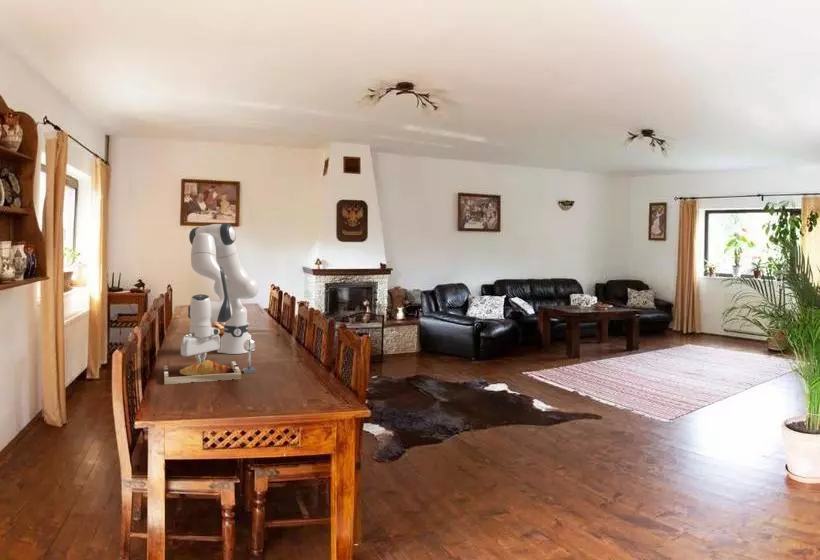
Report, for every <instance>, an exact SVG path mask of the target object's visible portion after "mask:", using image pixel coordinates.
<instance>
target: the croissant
mask: <svg viewBox="0 0 820 560" xmlns="http://www.w3.org/2000/svg"><path fill="white" fill-rule="evenodd" d="M231 370H232V366H227V365H224V364H221V363H218V362H214V361H213V360H211V359H205V361H203V362H202V363H197V362H196V363H193V364H192V365H189V366H185V367H183V368H182V369H179V373H180V374H181V375H183V376H196V375H211V374H225V373H228V372H230V371H231Z"/></svg>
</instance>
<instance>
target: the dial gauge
mask: <svg viewBox="0 0 820 560" xmlns="http://www.w3.org/2000/svg"><path fill="white" fill-rule="evenodd" d="M243 346H244V349H245V350H247V351H248V352H247V367H242V373H243V374H244V373H245V374H256V373H257V368H255V367H254V366H251V365H252V364H251V362H252V360H251V359H252V358H251V357H252V356H251V355H252V352H253V351H252V350H253V349H255V348H256V342H255V341H254V340H253V339H251V340H246V341H245V342H244V345H243Z"/></svg>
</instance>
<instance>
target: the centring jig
mask: <svg viewBox="0 0 820 560" xmlns="http://www.w3.org/2000/svg"><path fill="white" fill-rule="evenodd" d="M168 367H169V366H168V365H164V366H163V379H164V380H163V381H164V382H163V383H164V384H163V385H176V384H177V385H178V384H179V383H180V384H192V383H191V382H194V383H204V382H206V381H207V382H218V380H221V381H233V380H232V379H234V380H242V372H241V369H240V368H239V365H238V364H237V363H236V361H231V370H232V369H233V370H232V371H234V372H229V373H228V372H227V373H225V374H211V375H196V376H186V375H183V376H171V377H170V376H169V368H168Z"/></svg>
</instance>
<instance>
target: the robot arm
mask: <svg viewBox="0 0 820 560" xmlns="http://www.w3.org/2000/svg"><path fill="white" fill-rule="evenodd" d="M236 235H237V234H236V230H235V228H234V226H233V225H232V224H231V223H213V224H209V225H202V226H197V227H194V228H192V229H191V230H190V232H189V237H188V239H189V243H190V245H191V248H190V249H191V251H190V263H191V264H190V265H191V267H192V269H193V271H194V272H195V273H196V274H199V275H200V276H203V277H205V278H208V279H210V280H213V281H214V284H213V290H214V293H215V294H216V295H217V296H218V297H219V299H218V300H211V298H210V296H209V295H207V294H196V295H192V297H191V301H190V304H189V305H188V306H187V307H188V308H187V309H188V310H187V312H188V313H187V314H188V315H187V317H188V318H189V320H190V323H189V333H188V334H187V333H186V334H184V336H182V339H181V344H180V345H181V346H180V355H181V356H182V357H190V356H194V358H195V359H196V363H202V362H203V361H206V357H207V354H208V353H209V352H212V351H216V352H217V353H220V354H227V355H228V354H229V355H232V354H233V355H234V354H235V355H238V354H240V355H241V354H248V351H247V350H245V349H244V346H243V345H244V342H245V341H246V340H252V335H251V334H250V333H249V324H248V310H247V307H245V306H244V305H243V304H242V301H241V299H243V300H249V299H253V298H255V297H257V295H258V292H259V284H258V282H257V281H256V280H255V279H254V278H252V277H251V276H250V275H249V274H248V273H247V271H246V270H245V269H244V267H243V265H242V261H241V259H240V256H239V253H238V250H237V249H238V248H237V246H236V244H235V241H236V238H237V237H236ZM212 322H213V323H214V322H216V323H217V322H218V323H224V325H223V332H224V333H223V335H221V336H220V332H221V331H220V329H218V328H215V327H212ZM253 351H255V348H254V349H253V350H252V351H251V352H253Z"/></svg>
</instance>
